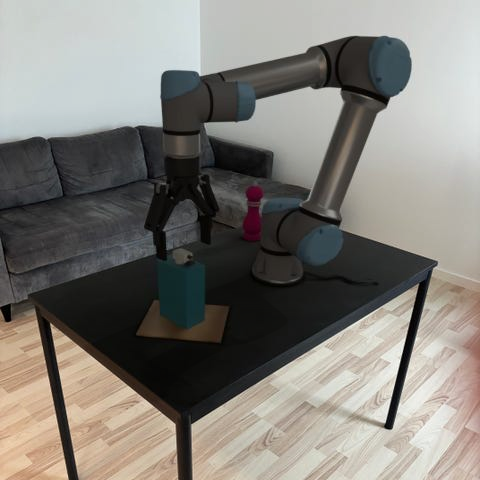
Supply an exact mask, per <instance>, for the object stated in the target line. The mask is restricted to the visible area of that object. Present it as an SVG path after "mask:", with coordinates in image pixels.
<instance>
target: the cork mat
mask: <svg viewBox="0 0 480 480" xmlns="http://www.w3.org/2000/svg"><path fill="white" fill-rule="evenodd" d="M229 311H230V306H229V305H218V304H217V305H216V304H206V303H205V321H203V322H201V323H199V324H197V325H195V326H193V327H191V328H189V329H185V328H183V327H182V326H180V325H178V324H176V323H174V322H172V321H170V320H169V319H167V318H165V317H163V316H161V315H160V306H159V299H158V300H157V299H154V300H153V302H152V303H151V305H150V307H149V309H148V311H147V313H146V314H145V316H144V318H143V320H142V322H141V324H140V326H139V327H138V329H137V331H136V333H135V336H138V337H148V338H158V339H169V340H180V341H181V340H182V341H192V342H205V343H215V344H221V343H222V339H223V335H224V331H225V327H226V322H227V318H228V315H229Z"/></svg>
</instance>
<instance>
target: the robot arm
mask: <svg viewBox="0 0 480 480" xmlns="http://www.w3.org/2000/svg"><path fill="white" fill-rule="evenodd" d="M412 65H413V63H412V57H411V51H410V49H409V47H408V45H407V44H406V43H405V41H403V40H402V39H401V38H397V37H390V36H388V35H380V36H375V35H374V36H373V35H372V36H369V35H349V36H345V37H341V38H338V39H335V40H334V39H333V40H331V41H327V42H324V43H321V44H320V43H319V44H317V45H312V46H310V47H308V48H307V50H306V51H305V52H302V53H298V54H294V55H289V56H284V57H280V58H276V59H271V60H267V61H262V62H258V63H253V64H249V65H243V66H240V67H235V68H231V69H226V70H222V71H218V72H214V73H208V74H204V75H200V73H199V72H198V71H196V70H187V69H185V70H184V69H183V70H181V69H168V70H165V71H163V72H162V73H161V76H160V95H159V97H160V98H159V99H160V105H161V106H160V107H161V108H160V109H161V123H162V146H163V149H162V150H163V153H164V154H165V155H164V156H163V168H164V169H163V172H164V174H165V176H166V180H165V182H164V183H163V182H162V183H160V182H158V181H157V182H155V183H154V184H153V195H152V199H151V201H150V205H149V209H148V212H147V214H146V217H145V221H144V225H143V229H144V230H146V231H148V232H151V233H152V243H153V246H155V257H156V259H157V260H158V259H160V260H163V261H167V256H168V248H167V247H168V245H167V232H166V231H164V229H165V227H166V225H167V223H168V222H169V220H170V217H171V215H172V213H173V212H174V210H175V208H176V207H177V206H178V205H179V204H180V203H181V202H185V201H186V200H192V201H193V202H194V204H195V205H196V206H197V208H198V209H199V210H200V211H201V213H202V214H201V215H200V216H199V217H200V218H199V219H200V220H199V221H200V243H202V244H205V245H207V246H210V245H212V229H213V219H214V218H216V217H217V213H219V212H220V207H219V206H220V205H219V204H218V201H217V198H216V196H215V194H214V191H213V188H212V186H211V181H210V180H211V179H210V175H209V174H208V173H205V172H201V157H200V154H201V124H208V123H239V122H246V121H249V120H250V119H252V117H253V116H254V113H255V111H256V106H257V105H256V103H257V101H258V100H262V99H265V98H269V97H274V96H278V95H282V94H287V93H290V92H294V91H298V90H302V89H307V88H311V89H312V90H320V89H325V88H327V89H328V88H332V89H340V91H339V95H340V96H341V97H340V98H341V100H342V104H341V107H340V110H339V112H338V115H337V117H336V119H335V123H334V126H333V129H332V132H331V134H330V137H329V140H328V143H327V145H326V148H325V151H324V154H323V156H322V159H321V161H320V165H319V167H318V170H317V173H316V176H315V178H314V181H313V184H312V187H311V189H310V192H309V194H308V195H309V197H308V199H307V198H306V200H304V199H300V198H296V197H295V198H294V197H277V198H270V199H268V200H266V201H265V202H263V205H262V211H261V220H262V224H261V231H260V233H261V239H260V240H259V242H260V243H259V251H258V253H257V255H256V257H255V259H254V261H253V262H254V263H253V266H252V270H251V271H252V272H251V275H252V277H253V278H254V279H255V280H256V281H257V282H259V283H262V284H264V285H268V286H273V287H288V286H294V285H296V284H297V285H298V283H301V282H302V281H303V277H304V275H307V276H311V277H314V278H315V279H316V278H317V279H320V280H330V279H335V278H336V279H342V280H344V281H346V282H348V283H352V284H354V285H355V284H358V285H359V284H365V283H367V282H357V281H358V280H355V281H352V280H353V279H351V280H349V279H350V278H349V279H347V278H348V277H347V278H345V277H346V276H345V277H343V276H344V275H342V276H338V275H339V274H331V275H326V276H325V275H319V274H316V273H313V272H309V271H305V270H304V267H303V263H305V264H307V265H309V266H313V267H319V266H324V265H326V264H327V263H328V262H331V261H332V260H334V259H335V258H336V257H337V255H338V254H339V253H340V251H341V250H342V247H343V245H344V236H343V235H344V233H343V232H342V230H341V228H340V226H341V224H342V222H343V217H342V214H341V208H342V205H343V202H344V200H345V197H346V195H347V192H348V189H349V187H350V184H351V182H352V179H353V178H354V174H355V171H356V169H357V166H358V164H359V161H360V159H361V156H362V154H363V152H364V149H365V146H366V144H367V142H368V139H369V137H370V133H371V131H372V128H373V126H374V124H375V122H376V118H377V116H378V114H379V113H381V112H382V111H384V110H386V109H387V108H388V105H389V104H390V101H391V98H393V97H396V96H399V94H400V93H401V92H403V91H404V90H405V89H406V87H407V86H408V83H409V81H410V79H411V76H412V70H413V69H412V68H413V67H412ZM198 186H199V189H198ZM365 280H372V278H367V279H365ZM375 281H376V282H372V283H373V284H374V285H376V286H380V284H379V282H378V281H377V280H375Z"/></svg>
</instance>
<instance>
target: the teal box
mask: <svg viewBox="0 0 480 480" xmlns="http://www.w3.org/2000/svg"><path fill="white" fill-rule="evenodd" d="M193 259H194V257H193V252H191V251H188V250H187V249H184V248H181V247H180V248H177V249H174V250H172V254H169V255H167V261H163V260H160V259H158V258H157V259H156V264H157V265H156V267H157V285H158V301H159V306H160V315H161V316H163V317H165V318H167V319H169V320H170V321H172V322H174V323H176V324H178V325H180V326H182V327H183V328H185V329H189V328H191V327H193V326H195V325H197V324H199V323H201V322H203V321H205V304H206V264H203V263H201V262H199V261H196V260H193Z"/></svg>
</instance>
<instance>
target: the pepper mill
mask: <svg viewBox="0 0 480 480" xmlns="http://www.w3.org/2000/svg"><path fill="white" fill-rule="evenodd" d="M263 197H264V191H263V188H262V187H261V186H259V185H258V182H257V181H253V182H252V185H250V186H248V188H246V190H245V198H246V199H247V200H246V205H247V212H246V214H245V217H244V219H243V221H242V230H243V231H244V232H243V234H242V235H243V236H242V237H243V240H246V241H248V242H256V241H260V240H261V224H262V216H261V214H260V206H261V205H262V199H263Z"/></svg>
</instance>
